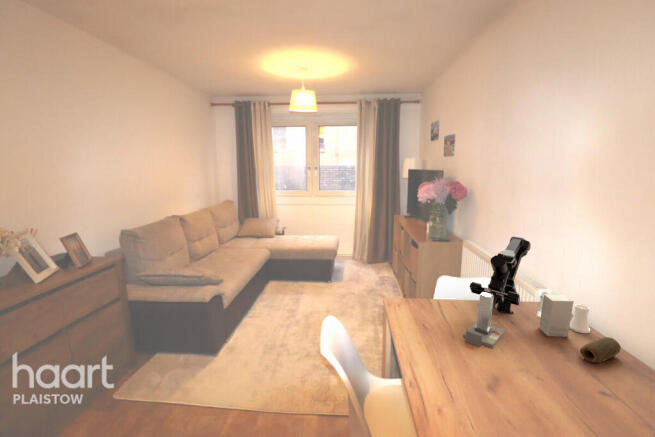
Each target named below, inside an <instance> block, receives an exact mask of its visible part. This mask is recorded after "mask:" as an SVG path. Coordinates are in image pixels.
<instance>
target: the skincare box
mask: <svg viewBox="0 0 655 437" xmlns="http://www.w3.org/2000/svg"><path fill="white" fill-rule="evenodd" d="M542 297H543V299H542V306H541V312H540V320H539V326H538V329H539V330H540V331H541V332H542V333H543V334H545V335H546V336H547V337H560V338H561V337H563V338H568V337H569V332H570V328H569V327H570V321H571V320H572V313H573V306H574V300H573V299H571V298H569V297H567V296H566V295H564V294H546V293H543V296H542Z"/></svg>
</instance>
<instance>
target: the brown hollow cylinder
mask: <svg viewBox="0 0 655 437" xmlns="http://www.w3.org/2000/svg"><path fill="white" fill-rule="evenodd" d="M621 347H622V346H621V344H620V343H619V342H618V341H617V339H615V338H613V337H608V336H605V337H602V338H598V339H596V340H594V341H591V342H589V343H587V344H585V345H583V346H582V347H580V350H579V352H580V355H581V357H583V359H585V360H586V361H588V362H590V363H593V364H594V363H595V364H596V363H597V364H599V363H602V362H605V361H607V360H609V359H611V358H613V357H615V356H616V355H618V354H619V353H620V351H621V349H622V348H621Z"/></svg>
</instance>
